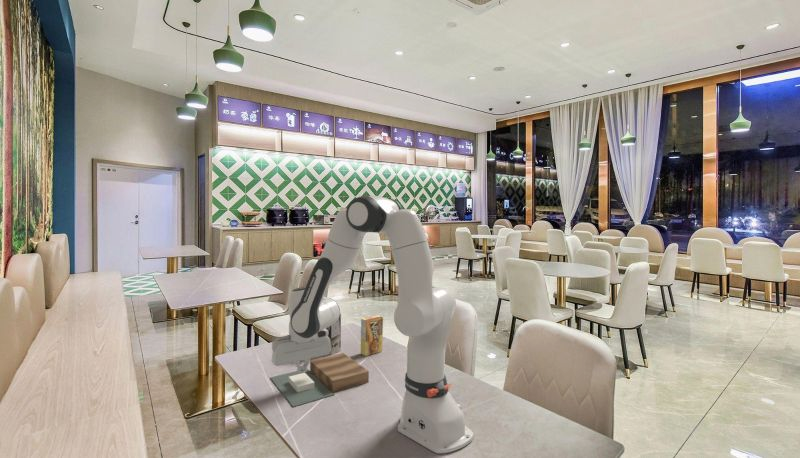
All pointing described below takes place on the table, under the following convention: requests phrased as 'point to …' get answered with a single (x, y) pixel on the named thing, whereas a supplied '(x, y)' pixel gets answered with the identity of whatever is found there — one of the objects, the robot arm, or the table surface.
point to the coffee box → (335, 336)
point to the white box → (301, 382)
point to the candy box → (371, 335)
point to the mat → (303, 396)
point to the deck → (339, 372)
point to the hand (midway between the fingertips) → (302, 371)
